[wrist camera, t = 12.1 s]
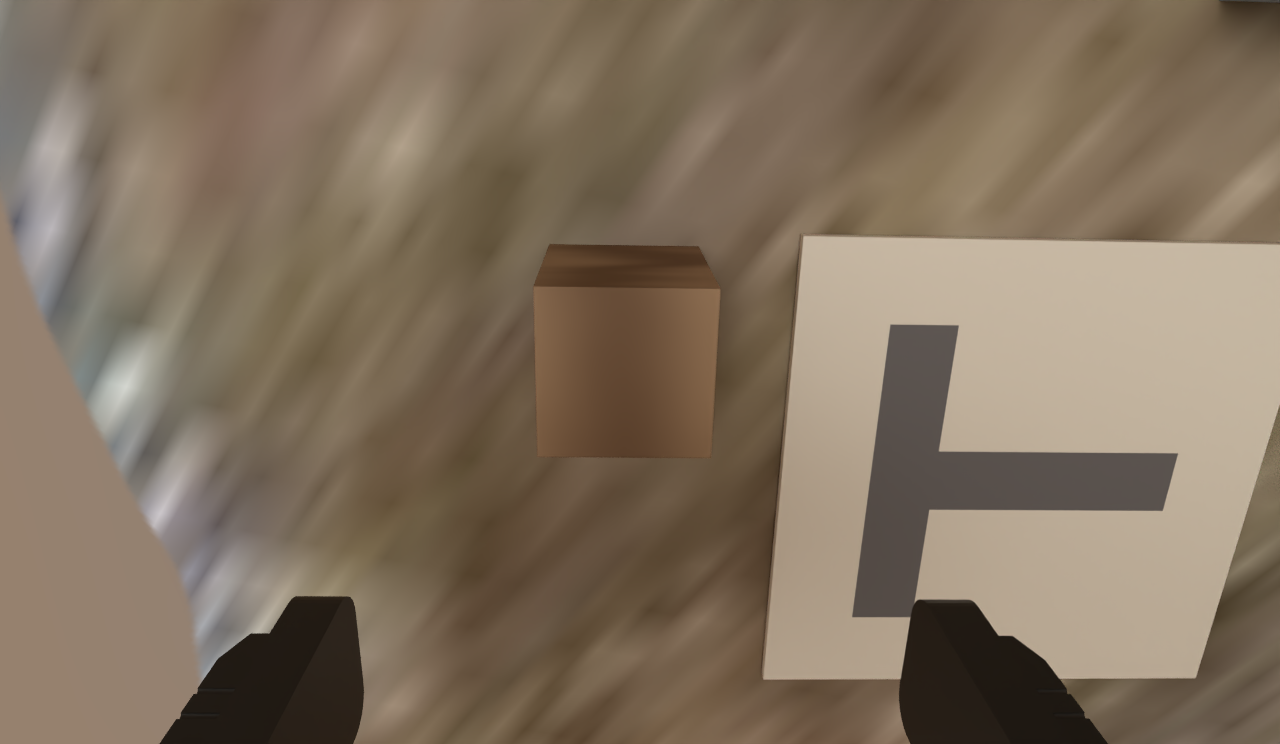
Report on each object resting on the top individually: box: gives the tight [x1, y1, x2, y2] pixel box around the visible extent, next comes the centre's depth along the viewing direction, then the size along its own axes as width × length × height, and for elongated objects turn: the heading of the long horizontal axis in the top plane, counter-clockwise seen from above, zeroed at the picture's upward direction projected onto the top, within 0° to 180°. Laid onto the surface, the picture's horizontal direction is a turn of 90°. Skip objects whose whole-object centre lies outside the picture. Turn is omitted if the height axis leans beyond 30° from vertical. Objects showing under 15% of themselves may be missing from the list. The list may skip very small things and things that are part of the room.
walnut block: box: [533, 244, 720, 458], centre depth 25 cm, size 5×5×6 cm
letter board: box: [762, 234, 1280, 679], centre depth 31 cm, size 18×18×1 cm
